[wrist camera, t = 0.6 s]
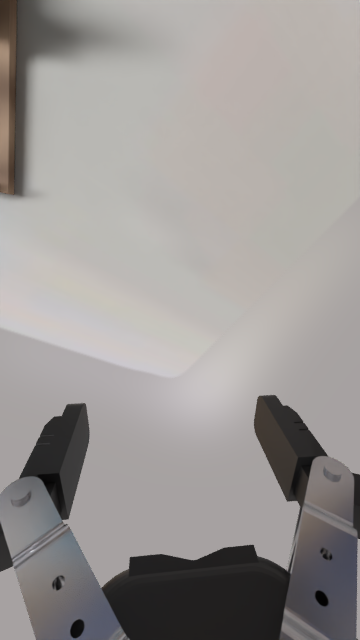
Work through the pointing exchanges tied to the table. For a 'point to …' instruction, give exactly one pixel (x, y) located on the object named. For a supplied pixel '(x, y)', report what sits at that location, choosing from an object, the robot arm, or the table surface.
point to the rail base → (7, 93)
